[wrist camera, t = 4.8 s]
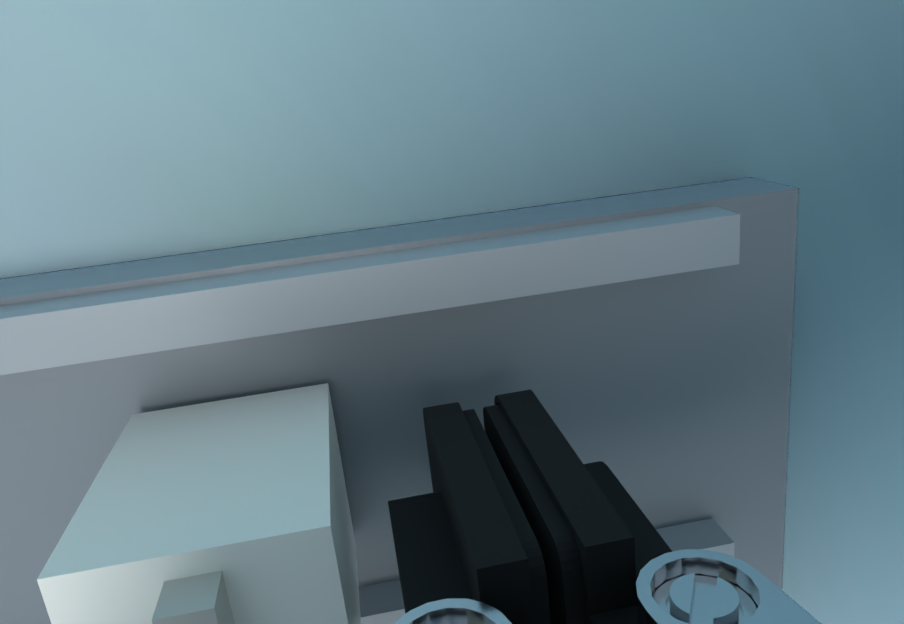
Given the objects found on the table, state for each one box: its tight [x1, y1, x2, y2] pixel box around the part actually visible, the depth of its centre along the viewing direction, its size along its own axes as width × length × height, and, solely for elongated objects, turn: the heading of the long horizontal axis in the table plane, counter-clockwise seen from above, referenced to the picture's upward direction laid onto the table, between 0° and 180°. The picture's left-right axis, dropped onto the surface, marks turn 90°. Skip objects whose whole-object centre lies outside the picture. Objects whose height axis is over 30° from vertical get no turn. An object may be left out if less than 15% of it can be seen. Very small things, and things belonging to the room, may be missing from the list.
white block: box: [37, 383, 361, 624], centre depth 10 cm, size 3×3×5 cm
